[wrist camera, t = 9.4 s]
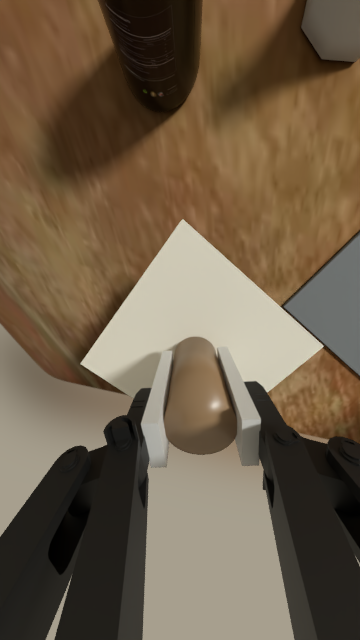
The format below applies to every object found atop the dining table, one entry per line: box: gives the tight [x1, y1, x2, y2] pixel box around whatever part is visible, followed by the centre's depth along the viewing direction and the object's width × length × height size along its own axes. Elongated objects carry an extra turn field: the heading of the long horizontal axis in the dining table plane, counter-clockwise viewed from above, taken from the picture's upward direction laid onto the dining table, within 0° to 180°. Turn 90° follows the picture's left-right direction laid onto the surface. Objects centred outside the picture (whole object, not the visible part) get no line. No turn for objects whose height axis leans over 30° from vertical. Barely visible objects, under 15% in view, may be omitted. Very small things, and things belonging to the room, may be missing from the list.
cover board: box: [80, 219, 324, 455], centre depth 12 cm, size 15×15×8 cm
